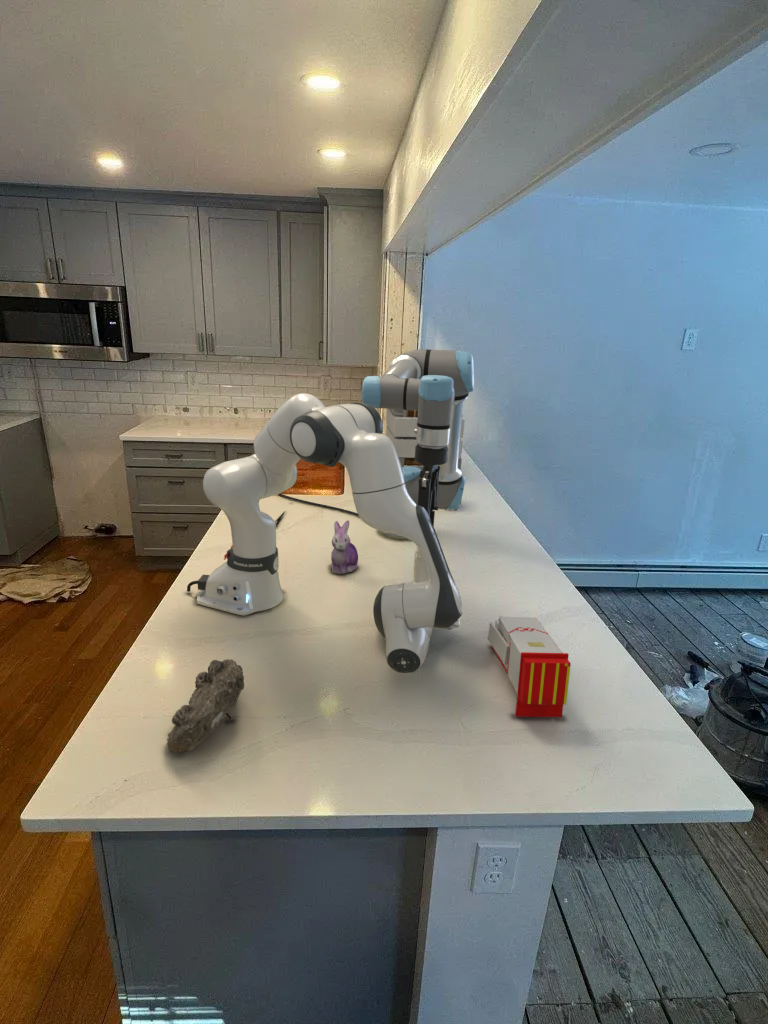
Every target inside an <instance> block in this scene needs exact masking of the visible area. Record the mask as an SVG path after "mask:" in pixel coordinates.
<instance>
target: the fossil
mask: <svg viewBox="0 0 768 1024" xmlns="http://www.w3.org/2000/svg"><path fill="white" fill-rule="evenodd" d="M243 670H244V669H243V667H242V665H240V664H237V662H236V661H235V660H234V659H232V658H231V659H227V658H226V659H224V660H223V661H222V660H217V659H212V660H211V661H210V663H209V665H208V666H207V671H201V672H199V673H198V674H197V675H196V676H195V680H194V684H195V685H194V687H195V689H194V690H193V693H192V694H191V697H190V698H189V700H188V704H184V705H182V706H181V707H180V709H177V710H176V711H175V713H174V715H173V716H172V718H171V723H172V724H173V727H172V730H171V731H170V732H168V734H167V738H166V741H167V742H166V745H167V749H168V750H169V751H173V752H174V753H176V754H178V753H182V752H188V751H189V752H192V751H193V750H195V748H196V747H197V746H199V744H200V743H201V742H203V741H204V740H205V739H206V738H207V737H208V736H209V735H210V734H211V733H212V732H214V730H215V729H217V727H218V726H219V724H220V722H221V721H222V720H223V719H224V718H225V716H226V717H227V719H229V720H233V717H232V715H230V714H229V710H230V709H231V708H234V706H235V704H236V703H237V702H238V699H239V697H240V695H241V693H242V691H243V690H245V689H244V688H245V675H244V671H243Z"/></svg>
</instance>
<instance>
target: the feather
mask: <svg viewBox="0 0 768 1024" xmlns="http://www.w3.org/2000/svg"><path fill="white" fill-rule="evenodd" d="M285 512H286V510H285V511H283V513H281V515H279V516H278V518H276V520H274V521H275V524H276V528H277V527H278V525H279V523H280V521H281V519H282V517H283V516H284V514H285Z"/></svg>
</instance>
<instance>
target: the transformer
mask: <svg viewBox="0 0 768 1024" xmlns="http://www.w3.org/2000/svg"><path fill="white" fill-rule="evenodd" d="M385 414H386V415H385V423H386V428H385V435H386V436H388V437H389V438H390V439H391V440H392V442H393V444H394V446H395V449H396V451H397V454H398V457H399V460H400V464H401V467H405V466H406V467H417V466H418V467H423V464H421V463H418V462H416V461H415V446H416V445H417V443H416V435H417V433H415V432H414V430H415V429H417V420H418V411H413V410H401V409H386V413H385ZM464 429H465V419H464V418H462V419H461V431H460V443H459V456H458V468H459V469H460V471H461V472H462V461H463V460H462V453H463V442H464V441H463V440H462V439H463V438H464V431H465V430H464Z"/></svg>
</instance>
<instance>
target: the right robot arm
mask: <svg viewBox="0 0 768 1024" xmlns="http://www.w3.org/2000/svg"><path fill="white" fill-rule="evenodd" d="M474 366H475V365H474V357H473V355H472V354H471V352H469V351H461V350H458V349H456V350H452V349H429V348H428V349H427V348H419V349H413V350H410V351H406V352H403V353H401V354H399V355H398V356H396V357H394V359H393V360H391V362H390V364H389V366H388V369H387V370H386V371H385V372H384V373H383V374H382V375H381V376H379V375H367V376H365V378H364V379H363V381H362V387H361V399H362V400H361V401H362V403H364V404H368V405H370V406H372V407H373V408H375V409H376V410H377V409H386V410H387V409H401V410H413V411H418V420H417V429H415V430H414V432H415V433H417V435H416V443H417V445H416V446H415V461H416V462H418V463H421V464H423V466H422V469H421V468H420V467H417V466H404V467H402V471H403V475H404V480H405V485H406V489H407V491H408V494H409V496H410V497H411V499H412V500H413V501H414V502H415V503H416V504H417V505H419V506H421V507H424V509H425V510H426V512H427V513H428V515H429V517H430V519H431V522H432V524H433V527H434V528H435V515H436V513H435V511H439V510H444V511H448V510H450V511H456V510H458V509H459V508H460V506H461V505H460V503H461V504H462V499H463V494H464V489H465V484H466V477H465V476H463V474H462V470H461V471H460V469H459V468H458V456H459V443H460V439H461V438H460V431H461V419H463V408H464V407H463V406H464V401H466V400H467V399H468V398H469V394H470V393H471V392H474V390H475V371H474V370H475V367H474ZM276 496H279V497H282V498H285V499H288V500H291V501H293V502H299V503H302V504H307V505H310V506H317V507H321V508H325V509H331V510H334V511H339V512H342V513H346V514H350V515H354V516H357V517H359V515H358V513H357V512H355V511H352V510H349V509H348V510H347V509H344V508H341V507H336V506H332V505H328V504H323V503H322V504H321V503H318V502H312V501H310V500H309V501H308V500H304V499H300V498H296V497H292V496H289V495H286V494H283V493H280V494H277V495H276ZM378 533H379V534H380V535H381V536H382V537H385V538H387V539H389V540H395V541H411V540H410V539H408V538H405V537H403V536H400V535H396V534H392V533H387V532H383V531H380V530H378Z"/></svg>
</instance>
